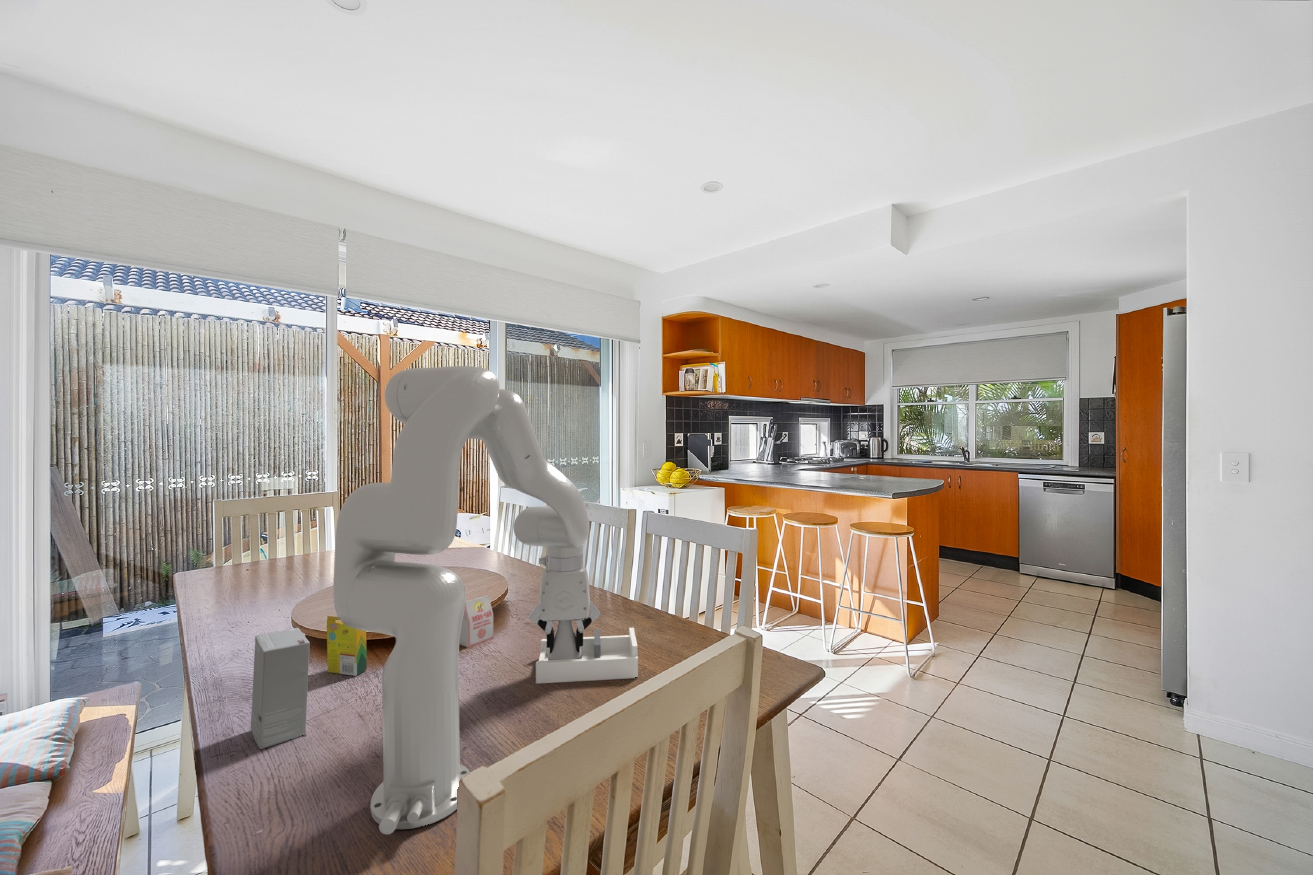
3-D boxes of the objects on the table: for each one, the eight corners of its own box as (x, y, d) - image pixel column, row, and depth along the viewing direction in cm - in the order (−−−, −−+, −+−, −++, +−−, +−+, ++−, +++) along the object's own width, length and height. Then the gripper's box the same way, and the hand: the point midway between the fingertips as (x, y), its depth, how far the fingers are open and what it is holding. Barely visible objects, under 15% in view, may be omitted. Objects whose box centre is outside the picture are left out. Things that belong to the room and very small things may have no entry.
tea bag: (458, 643, 125) (458, 600, 125) (484, 634, 131) (483, 593, 130) (468, 647, 123) (467, 604, 123) (493, 638, 128) (493, 596, 128)
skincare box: (249, 730, 90) (248, 635, 89) (300, 714, 95) (299, 624, 94) (259, 752, 84) (257, 651, 83) (312, 733, 89) (311, 638, 88)
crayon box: (367, 670, 112) (366, 614, 111) (356, 676, 109) (355, 619, 109) (338, 666, 114) (337, 611, 113) (326, 672, 111) (325, 615, 111)
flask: (575, 667, 108) (575, 617, 108) (541, 664, 110) (541, 615, 109) (587, 652, 115) (587, 605, 115) (555, 649, 117) (555, 603, 116)
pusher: (600, 669, 109) (600, 644, 109) (594, 669, 109) (594, 645, 109) (599, 651, 118) (599, 628, 118) (594, 651, 118) (594, 629, 117)
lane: (637, 677, 108) (637, 648, 108) (535, 683, 106) (535, 653, 106) (633, 652, 120) (633, 625, 120) (541, 657, 118) (541, 629, 118)
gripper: (520, 568, 107) (520, 660, 108) (606, 566, 109) (606, 655, 110) (525, 559, 115) (525, 644, 115) (605, 557, 117) (605, 640, 117)
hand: (565, 649), depth 112 cm, fingers closed on flask, 4 cm apart
